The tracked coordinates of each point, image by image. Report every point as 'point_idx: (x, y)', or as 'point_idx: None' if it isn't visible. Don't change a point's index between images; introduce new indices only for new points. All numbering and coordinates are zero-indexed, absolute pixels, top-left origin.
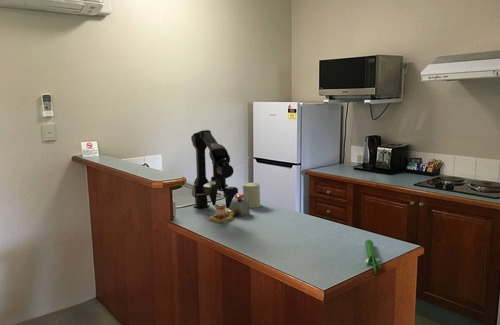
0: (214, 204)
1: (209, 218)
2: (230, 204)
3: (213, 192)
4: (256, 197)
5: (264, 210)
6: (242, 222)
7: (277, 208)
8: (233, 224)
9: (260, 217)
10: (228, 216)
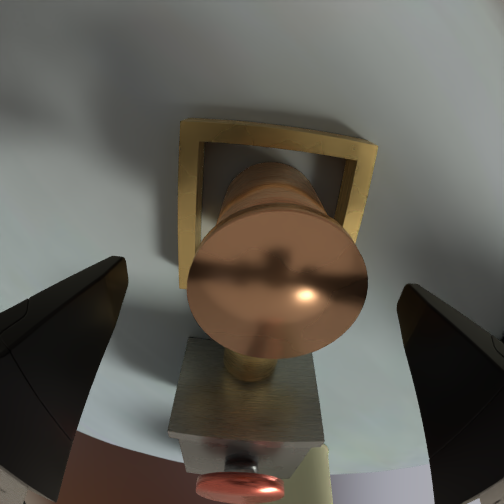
0: (405, 305)
1: (365, 142)
2: (299, 411)
3: (485, 461)
4: None
5: None
6: (75, 244)
7: (161, 453)
8: (82, 167)
9: None
10: None
